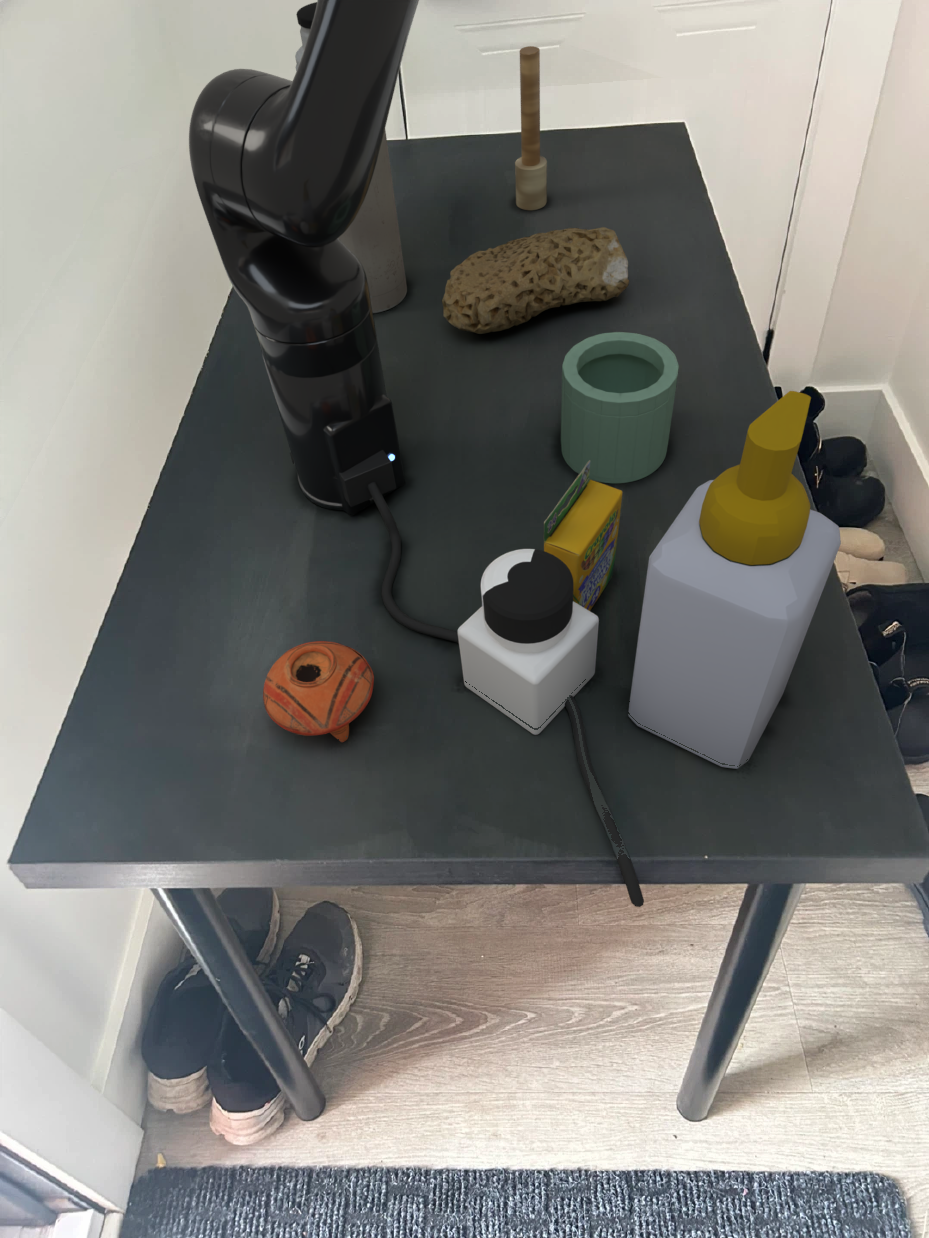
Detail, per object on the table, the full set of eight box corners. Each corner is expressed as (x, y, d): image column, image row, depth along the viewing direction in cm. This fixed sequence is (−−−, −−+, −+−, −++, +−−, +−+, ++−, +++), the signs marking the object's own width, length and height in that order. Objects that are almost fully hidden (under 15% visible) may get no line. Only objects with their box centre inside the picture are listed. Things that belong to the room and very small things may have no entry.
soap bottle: (787, 685, 64) (894, 409, 45) (738, 780, 60) (833, 521, 40) (674, 636, 68) (726, 359, 48) (619, 722, 64) (653, 457, 44)
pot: (271, 771, 63) (245, 702, 58) (282, 696, 69) (259, 629, 65) (383, 756, 62) (364, 686, 58) (383, 682, 69) (366, 614, 64)
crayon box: (574, 641, 68) (579, 538, 59) (540, 626, 69) (540, 523, 60) (615, 577, 72) (626, 471, 63) (582, 564, 73) (588, 458, 64)
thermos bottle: (344, 275, 103) (289, -7, 81) (411, 274, 102) (374, -11, 80) (331, 314, 98) (268, 26, 76) (401, 314, 97) (359, 22, 75)
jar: (688, 448, 81) (702, 365, 74) (613, 499, 77) (621, 418, 70) (613, 400, 86) (619, 318, 78) (539, 446, 82) (539, 365, 75)
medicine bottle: (596, 674, 66) (605, 569, 57) (536, 738, 63) (535, 638, 54) (522, 627, 69) (519, 520, 60) (462, 686, 66) (448, 583, 57)
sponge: (600, 270, 102) (429, 261, 98) (621, 210, 95) (438, 198, 91) (623, 354, 96) (441, 348, 92) (647, 297, 89) (453, 288, 85)
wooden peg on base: (553, 202, 110) (554, 49, 96) (530, 214, 108) (528, 60, 95) (532, 192, 112) (530, 40, 98) (509, 203, 110) (505, 51, 97)
